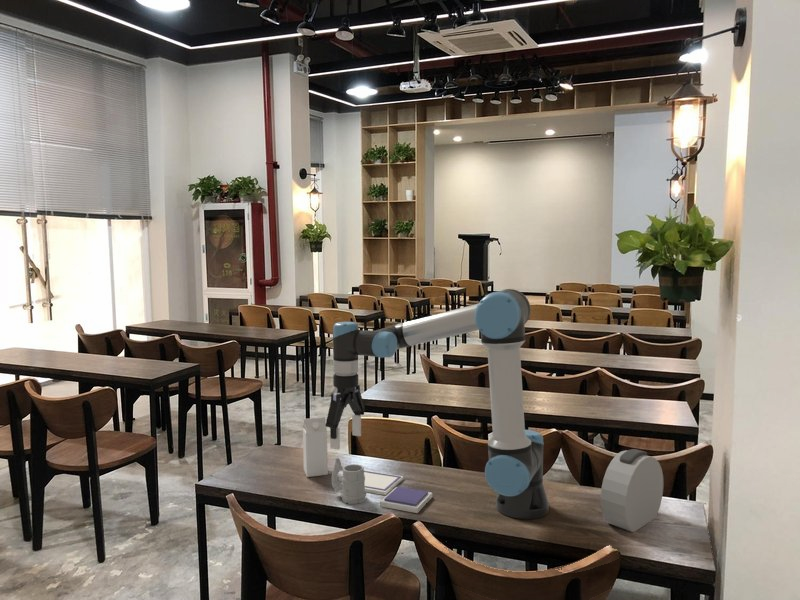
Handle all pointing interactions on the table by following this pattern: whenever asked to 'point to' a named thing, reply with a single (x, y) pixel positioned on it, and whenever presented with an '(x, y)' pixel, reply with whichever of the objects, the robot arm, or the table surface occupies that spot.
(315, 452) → the milk carton
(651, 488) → the alarm clock
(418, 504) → the ink pad
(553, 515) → the table surface
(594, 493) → the table surface
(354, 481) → the mug
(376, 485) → the board
